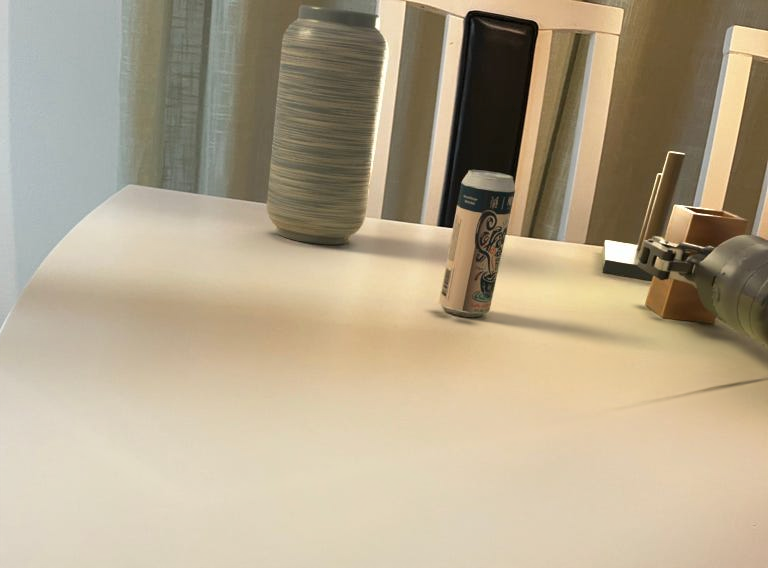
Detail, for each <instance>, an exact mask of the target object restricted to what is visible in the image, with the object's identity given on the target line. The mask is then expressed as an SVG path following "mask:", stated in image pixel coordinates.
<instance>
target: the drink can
mask: <svg viewBox="0 0 768 568" xmlns="http://www.w3.org/2000/svg"><path fill="white" fill-rule="evenodd" d="M515 193H516V186H515V181H514V177H513V176H512V175H510V174H509V175H508V174H505V173H501V172H495V171H489V170H479V169H469V170H468V172H467V173H466V174H465V176H464V177H463V179H462V181H461V183H460V189H459V194H458V199H457V204H456V210H455V215H454V221H453V225H452V231H451V236H450V240H449V241H450V242H449V246H448V252H447V257H446V258H447V259H446V262H445V268H444V273H443V279H442V284H441V290H440V293H439V300H438V304H439V306H441V308H443V310H444V311H445V312H446V313H449V314H451V315H455V316H459V317H463V318H464V317H465V318H479V317H482V316H483V315H485V314H488V313H489V312H490V310H491V306H492V301H493V297H494V291H495V287H496V282H497V277H498V272H499V268H500V264H501V259H502V254H503V250H504V245H505V240H506V236H507V232H508V226H509V221H510V217H511V212H512V208H513V204H514V198H515Z"/></svg>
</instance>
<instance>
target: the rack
mask: <svg viewBox="0 0 768 568" xmlns="http://www.w3.org/2000/svg"><path fill="white" fill-rule="evenodd" d="M686 156H687V155H686V153H683V152H678V151H668V152H667V155H666V159H665V162H664V166H663V169H662V173H661V172H660V173H657V174H656V178H655V182H654V184H653V189H652V192H651V196H650V199H649V202H648V206H647V210H646V214H645V217H644V221H643V224H642V228H641V232H640V234H639V237H638V242H637V244H632V243H625V242H620V241H614V240H608V239H605V240H604V242H603V247H602V251H601V272H602V273H603V274H609V275H614V276H620V277H626V278H632V279H637V280H638V279H639V280H643V281H650V282H652V279H653V275H651V274H650V273H648V272H646V271H644V270H643V269H641V268H639V267H638V266H637V265H638V261H639V259H640V256H641V252H642V249H643V244H644V240H648V239H650V240H652V238H653V236H656V237H662V238H663V234H664V231H665V227H666V224H667V220H668V217H669V214H670V210H671V207H672V203H673V200H674V197H675V193H676V190H677V186H678V182H679V180H680V176H681V172H682V169H683V165H684V162H685V158H686Z"/></svg>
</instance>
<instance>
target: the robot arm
mask: <svg viewBox="0 0 768 568" xmlns="http://www.w3.org/2000/svg"><path fill="white" fill-rule="evenodd" d="M692 250H693V251H696V252H700V253H697V254H694V255H691V256H689V255H690V252H691V251H692ZM675 256H676V257H675ZM637 266H638V267H639V268H641V269H643V270H644V271H646V272H648V273H650V274H651V275H653V276H655V277H656V278H659V280H664V279H665V280H668V279H669V275H670V277H671V278H672V279H676V280H679V281H683V282H686V283H690V284H693V285H694V287H695V288H697V291H698V295H699V298H700V301H701V303H702V305H703V306H704V307H705V309H706V310H707V311H708V312H710V313H711V314H713V315H714V316H716V319H718V320H720V321H721V322H723V323H724V324H726V325H727V326H729V327H730V328H732V329H733V330H735V331H736V332H738V333H740V334H742V335H744V336H747V337H749V338H752V339H753V340H755V341H757V342H758V343H760V344H761V345H762V346H765V347H766V348H768V239H766V238H765V237H761V236H759V235H754V234H744V235H742V236H737V237H734V238H731V239H729V240H727V241H725V242H723V243H722V244H720V245H719V246H704V245H700V244H696V243H692V242H682V243H680V244H679V245H678V244H674V243H670V242H669V241H667V240H665V239H664V237H663V236H662V237H656V236H653V238H652V240H650V239H648V240H644V244H643V249H642V252H641V256H640V259H639V261H638V265H637Z"/></svg>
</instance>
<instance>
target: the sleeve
mask: <svg viewBox="0 0 768 568" xmlns="http://www.w3.org/2000/svg"><path fill="white" fill-rule="evenodd" d="M748 223H749V220H748V219H745V218H743V217H741V216H739V215H736V214H734V213H731V212H729V211H727V210H720V209H712V208H705V207H704V208H703V207H695V206H688V205H680V204H673V208H672V211H671V214H670V218H669V221H668V223H667V224H668V225H667V228H666V231H665V234H664V237H663V239H665V240H667V241H669V242H670V243H674V244H678V245H679V244H680V243H682V242H692V243H696V244H700V245H704V246H719V245H720V244H722V243H723V242H725V241H727V240H729V239H731V238H734V237H737V236H742V235H745V233H746V229H747V227H748ZM697 253H700V252H696V251H693V250H692V251H691V252H690V255H689V256H691V255H694V254H697ZM675 257H676V256H675ZM650 282H651V283H650V286H649V289H648V293H647V295H646V300H645V302H644V305H645V306H646V307H648V308H649V309H650V310H652V311H653V312H654V313H656V314H657V315H658V316H659V317H661V318H663V319H670V320H679V321H687V322H695V323H705V324H713V325H714V324H715V323H716V320H717V317H716V316H714V315H713V314H711V313H710V312H708V311H707V310H706V309H705V307H704V306H703V305H702V303H701V301H700V298H699V295H698V291H697V288H695V287H694V285H693V284H690V283H686V282H683V281H679V280H676V279H672V278H671V277H670V275H669V279H668V280H665V279H664V280H659V278H656V277H655V276H653V279H652V281H650Z"/></svg>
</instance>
